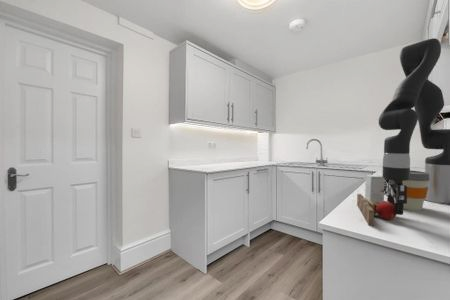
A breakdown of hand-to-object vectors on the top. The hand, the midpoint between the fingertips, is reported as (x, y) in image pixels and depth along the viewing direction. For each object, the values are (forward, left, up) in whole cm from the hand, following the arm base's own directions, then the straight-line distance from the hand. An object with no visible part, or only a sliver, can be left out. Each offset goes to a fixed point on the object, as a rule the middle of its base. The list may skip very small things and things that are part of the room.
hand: (394, 210), depth 74 cm
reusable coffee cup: (-18, +9, -3) cm, 21 cm away
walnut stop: (0, -9, -3) cm, 9 cm away
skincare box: (-21, -2, -3) cm, 22 cm away
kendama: (-4, -5, -3) cm, 7 cm away
